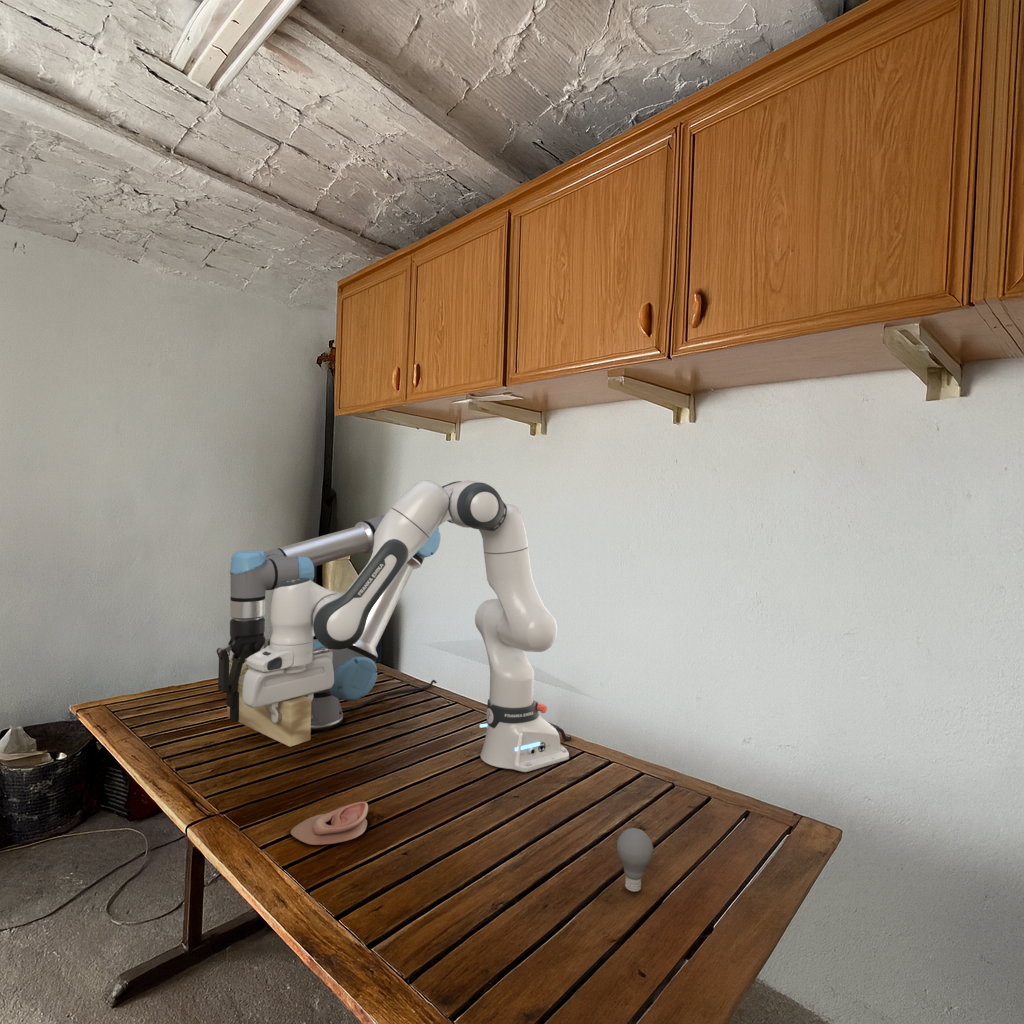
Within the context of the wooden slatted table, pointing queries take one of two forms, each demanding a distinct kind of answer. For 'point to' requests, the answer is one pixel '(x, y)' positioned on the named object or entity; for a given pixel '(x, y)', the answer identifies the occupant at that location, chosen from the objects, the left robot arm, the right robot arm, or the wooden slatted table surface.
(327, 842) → the anatomical model
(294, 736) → the birch rail
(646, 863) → the light bulb
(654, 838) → the wooden slatted table surface
